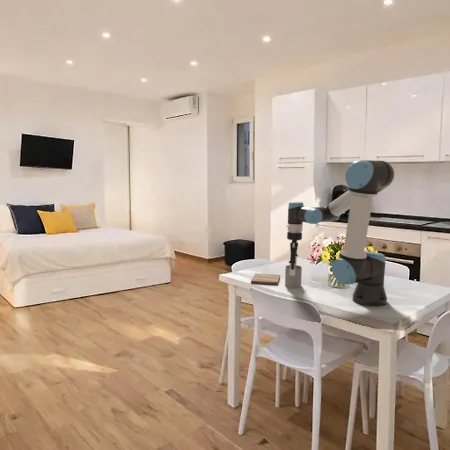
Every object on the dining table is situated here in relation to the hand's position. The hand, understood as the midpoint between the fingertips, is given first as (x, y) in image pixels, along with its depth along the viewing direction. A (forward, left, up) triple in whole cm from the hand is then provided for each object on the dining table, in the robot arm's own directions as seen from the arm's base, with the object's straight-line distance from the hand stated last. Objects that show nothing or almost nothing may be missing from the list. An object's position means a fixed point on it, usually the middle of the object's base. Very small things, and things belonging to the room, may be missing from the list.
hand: (292, 272), depth 222 cm
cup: (0, 0, -7) cm, 7 cm away
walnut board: (+7, +15, -7) cm, 18 cm away
